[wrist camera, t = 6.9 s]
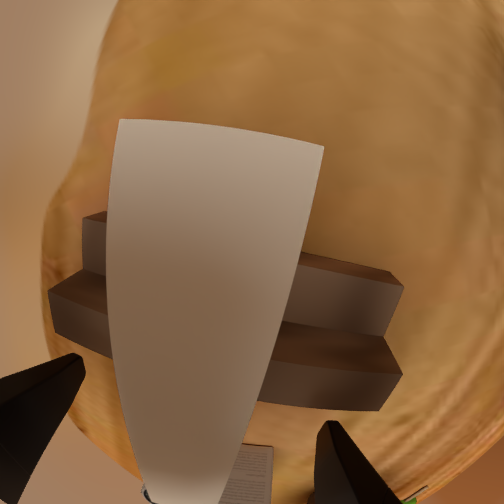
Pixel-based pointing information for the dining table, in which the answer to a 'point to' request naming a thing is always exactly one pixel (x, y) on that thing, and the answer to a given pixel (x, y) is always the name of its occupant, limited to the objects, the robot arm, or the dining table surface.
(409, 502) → the popsicle
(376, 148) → the dining table surface
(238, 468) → the skincare box
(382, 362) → the ridge block
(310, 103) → the dining table surface
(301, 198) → the light gray bar
